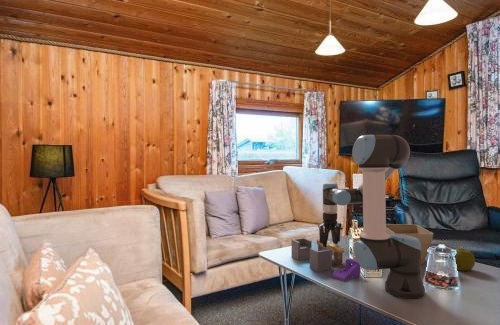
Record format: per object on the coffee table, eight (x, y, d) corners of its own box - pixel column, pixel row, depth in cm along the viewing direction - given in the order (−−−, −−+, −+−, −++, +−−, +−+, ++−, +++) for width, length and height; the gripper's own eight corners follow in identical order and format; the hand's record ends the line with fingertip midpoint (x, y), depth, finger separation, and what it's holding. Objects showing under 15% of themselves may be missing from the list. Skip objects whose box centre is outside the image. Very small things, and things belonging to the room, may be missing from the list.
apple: (470, 275, 158) (470, 251, 158) (447, 269, 166) (448, 247, 165) (477, 270, 165) (478, 247, 164) (455, 264, 172) (456, 243, 172)
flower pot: (433, 266, 169) (434, 233, 168) (394, 266, 170) (395, 233, 169) (415, 254, 188) (416, 224, 187) (380, 254, 189) (381, 224, 188)
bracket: (348, 271, 165) (348, 257, 165) (360, 275, 160) (360, 261, 159) (331, 277, 158) (332, 262, 157) (344, 282, 152) (344, 267, 152)
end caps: (331, 269, 167) (332, 249, 167) (317, 271, 164) (317, 252, 163) (304, 254, 189) (304, 237, 189) (291, 256, 186) (291, 239, 185)
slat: (343, 252, 174) (344, 247, 173) (337, 253, 172) (337, 248, 172) (322, 243, 190) (322, 238, 190) (316, 244, 188) (316, 239, 188)
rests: (342, 263, 174) (342, 252, 174) (337, 264, 173) (337, 253, 173) (322, 254, 190) (322, 243, 189) (318, 254, 188) (318, 244, 188)
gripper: (338, 209, 187) (338, 251, 188) (312, 212, 180) (312, 255, 181) (347, 211, 180) (347, 255, 181) (320, 214, 173) (320, 260, 174)
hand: (329, 255), depth 181 cm, fingers closed on slat, 4 cm apart
